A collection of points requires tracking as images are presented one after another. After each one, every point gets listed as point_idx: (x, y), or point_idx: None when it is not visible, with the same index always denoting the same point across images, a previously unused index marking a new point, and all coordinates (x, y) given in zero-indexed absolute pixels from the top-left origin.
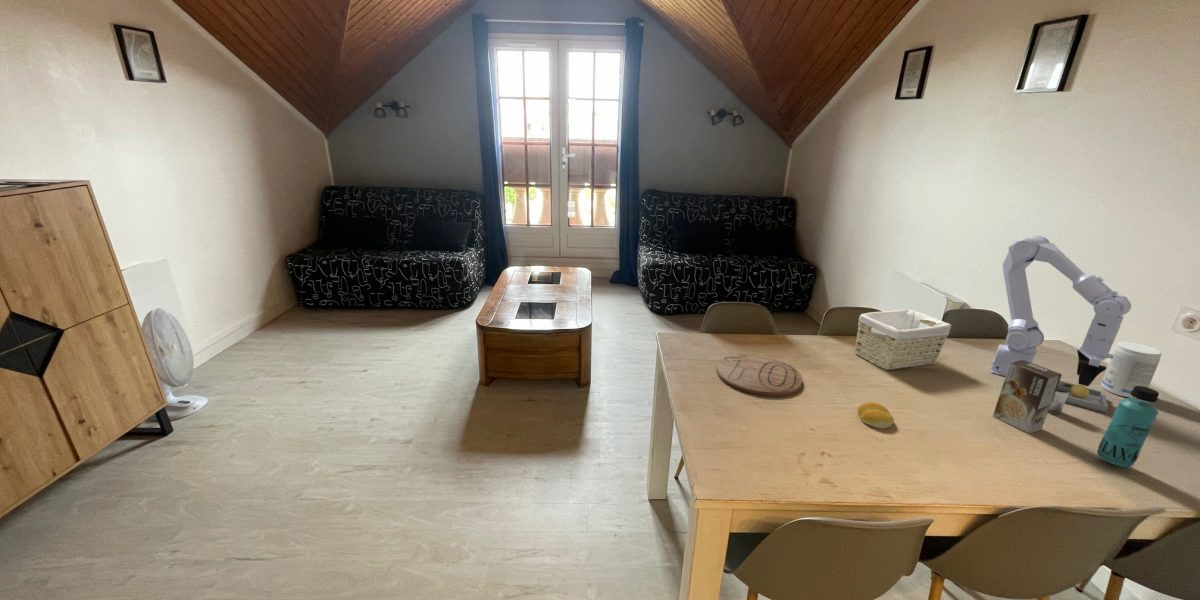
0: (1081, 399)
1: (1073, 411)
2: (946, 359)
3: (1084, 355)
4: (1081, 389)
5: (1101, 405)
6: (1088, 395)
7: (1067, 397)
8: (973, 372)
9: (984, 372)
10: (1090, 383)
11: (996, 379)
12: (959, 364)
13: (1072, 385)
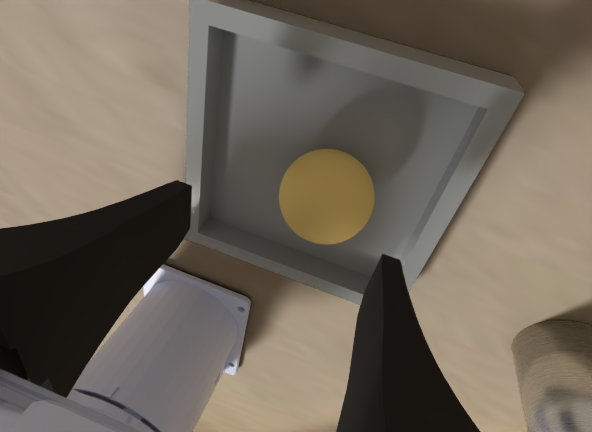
0: (434, 218)
1: (538, 255)
2: (209, 425)
3: (59, 366)
4: (355, 225)
5: (497, 130)
6: (258, 91)
7: (421, 267)
8: (270, 410)
9: (246, 383)
10: (403, 277)
11: (290, 378)
12: (226, 414)
13: (204, 164)
